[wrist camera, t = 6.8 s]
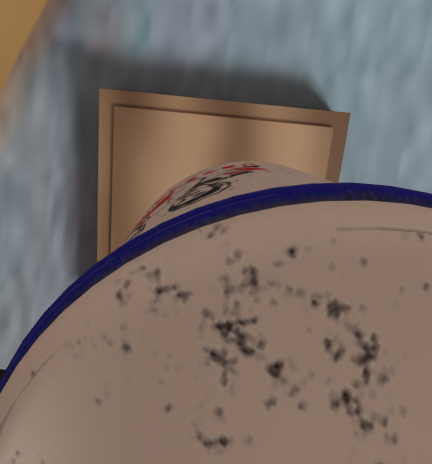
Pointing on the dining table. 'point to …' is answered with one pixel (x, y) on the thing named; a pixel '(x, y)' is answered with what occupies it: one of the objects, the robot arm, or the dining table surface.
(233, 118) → the walnut base
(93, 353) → the teacup with lid
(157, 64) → the dining table surface
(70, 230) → the dining table surface
